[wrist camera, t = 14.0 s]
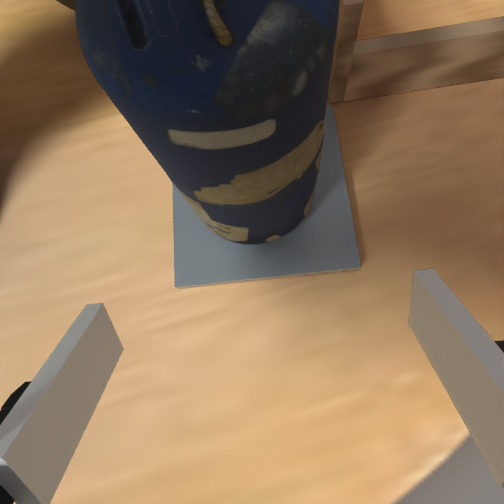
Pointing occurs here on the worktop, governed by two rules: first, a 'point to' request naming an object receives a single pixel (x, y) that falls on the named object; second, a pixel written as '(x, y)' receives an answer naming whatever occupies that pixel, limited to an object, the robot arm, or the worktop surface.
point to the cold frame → (412, 57)
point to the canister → (222, 99)
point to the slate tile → (278, 251)
